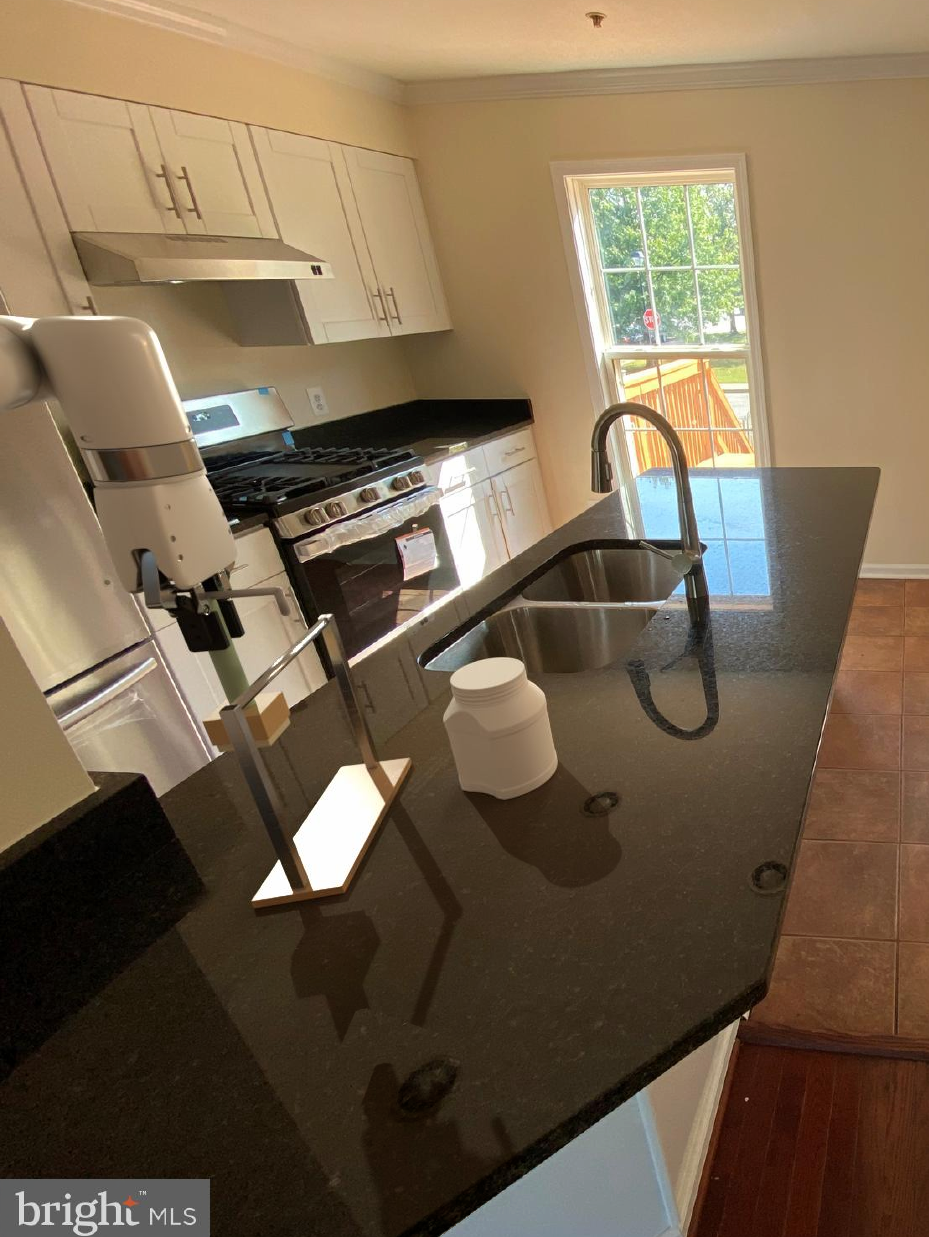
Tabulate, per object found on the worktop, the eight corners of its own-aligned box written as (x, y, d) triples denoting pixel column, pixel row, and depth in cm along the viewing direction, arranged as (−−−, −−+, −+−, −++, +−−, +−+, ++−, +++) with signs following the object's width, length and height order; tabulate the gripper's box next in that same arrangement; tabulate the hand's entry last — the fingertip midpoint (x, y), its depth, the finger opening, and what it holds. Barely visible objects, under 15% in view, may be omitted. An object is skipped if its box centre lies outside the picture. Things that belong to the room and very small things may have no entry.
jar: (445, 786, 88) (417, 684, 82) (501, 745, 96) (479, 649, 90) (521, 804, 85) (497, 699, 79) (571, 759, 93) (553, 661, 87)
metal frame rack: (253, 909, 70) (169, 719, 61) (343, 772, 90) (289, 615, 81) (344, 893, 72) (275, 707, 63) (412, 763, 92) (367, 609, 83)
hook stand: (215, 754, 72) (151, 604, 65) (241, 728, 76) (183, 585, 69) (320, 741, 74) (269, 595, 67) (339, 716, 78) (292, 577, 72)
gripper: (152, 448, 69) (218, 616, 76) (24, 485, 55) (119, 687, 62) (241, 445, 71) (297, 609, 78) (139, 480, 57) (219, 676, 64)
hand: (218, 642), depth 70 cm, fingers closed on hook stand
